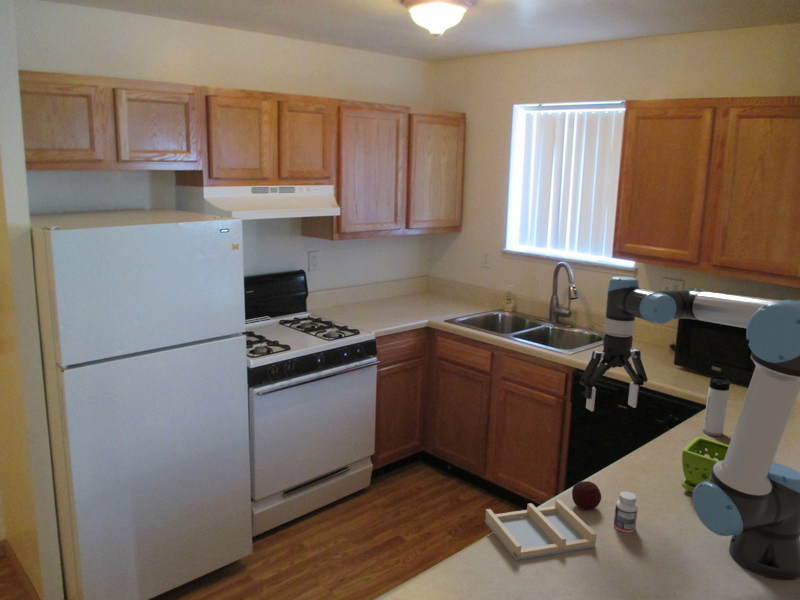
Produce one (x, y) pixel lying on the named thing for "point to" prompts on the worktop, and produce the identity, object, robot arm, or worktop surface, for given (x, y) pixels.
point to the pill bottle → (626, 512)
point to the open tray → (541, 531)
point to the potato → (586, 495)
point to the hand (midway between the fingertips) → (611, 407)
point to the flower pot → (700, 461)
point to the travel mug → (716, 406)
